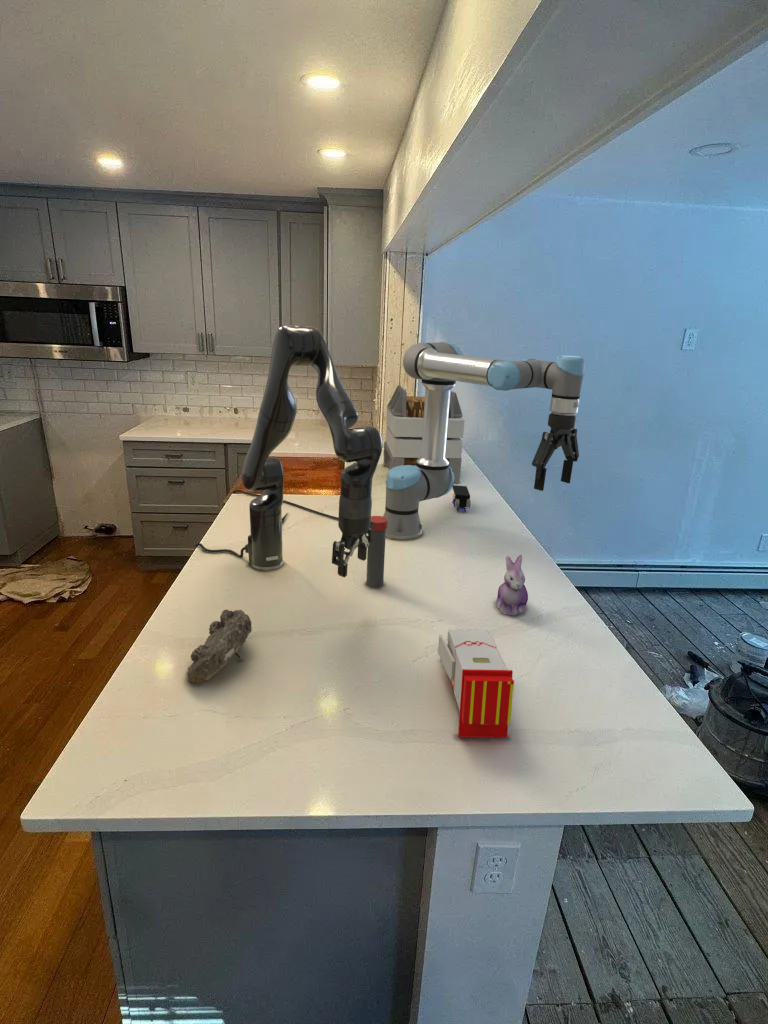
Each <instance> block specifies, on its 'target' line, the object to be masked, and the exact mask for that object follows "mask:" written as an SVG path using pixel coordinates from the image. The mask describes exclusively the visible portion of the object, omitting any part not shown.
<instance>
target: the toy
mask: <svg viewBox="0 0 768 1024" xmlns="http://www.w3.org/2000/svg"><path fill="white" fill-rule="evenodd" d="M446 640H447V643H446V641H445V639H444V636H443V635H442V634H439V637H438V646H437V656H438V657H439V659H440V661H441V663H442V666H443V668H444V670H445V672H446V674H447V677H448V679H449V681H450V684H451V687H452V690H453V693H454V697H455V701H456V705H457V708H458V711H459V714H458V715H459V716H458V730H457V731H458V732H457V737H458V738H508V731H509V726H510V725H511V717H512V707H513V697H514V696H513V695H514V684H515V680H514V679H513V673H514V671H513V670H512V669H508V667H507V665H506V662H505V661H504V659H503V658H502V655H501V653H500V651H499V649H498V647H497V643H496V639H495V637H494V635H493V634H491V632H490V631H489V629H467V628H466V629H465V628H463V629H461V628H460V629H459V628H448V630H447V639H446Z"/></svg>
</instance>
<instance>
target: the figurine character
mask: <svg viewBox="0 0 768 1024" xmlns="http://www.w3.org/2000/svg"><path fill="white" fill-rule="evenodd" d="M452 490H453V494H452V501H451V503H452V504H453V507H454V508H456V511H457V512H460V510H463V511H464V513H466V512H467V509H470V508H471V505H472V504H471V501H472V500H471V494H470V491H469V488H468V486H467V485H456V484H453V487H452ZM466 508H467V509H466Z"/></svg>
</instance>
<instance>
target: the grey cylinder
mask: <svg viewBox="0 0 768 1024" xmlns="http://www.w3.org/2000/svg"><path fill="white" fill-rule="evenodd" d="M367 536H369V534H367ZM386 538H387V537H386V530H383V531H373V541H372V542H369V546H368V547H367V556H366V583H365V584H366V586H367V587H368V588H371V589H380V588H382V587H383V586H384V576H385V559H386V557H385V555H386Z"/></svg>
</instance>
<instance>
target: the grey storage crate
mask: <svg viewBox="0 0 768 1024" xmlns="http://www.w3.org/2000/svg"><path fill="white" fill-rule="evenodd" d="M407 394H408V393H407V390H406V389H404V388H403V387H402V385H399V384H398V385H397V386H396V388H395V390H394V392H393V394H392V395H391V398H390V400H389V402H388V404H387V405H386V413H385V414H386V415H385V423H386V428H385V438H384V442H383V466H384V467H388V468H389V470H390V469H392V468H394V467H396V466H401V465H404V466H405V465H413V466H416V461H417V459H418V458H420V457H421V449H422V434H423V419H424V404H425V396H415V395H414V396H413V395H412V396H411V395H407ZM464 429H465V419H464V418H463V411H462V408H461V405H460V402H459V398H458V395H457V392H455V391H453V390H451V392H450V404H449V416H448V428H447V441H446V453H445V458H446V459H447V461H448V462H449V466H450V467H451V469H452V473H454V484H455V483H456V484H459V483H461V472H462V461H463V460H462V453H463V442H464V441H463V440H462V439H463V438H464V431H465V430H464Z"/></svg>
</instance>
